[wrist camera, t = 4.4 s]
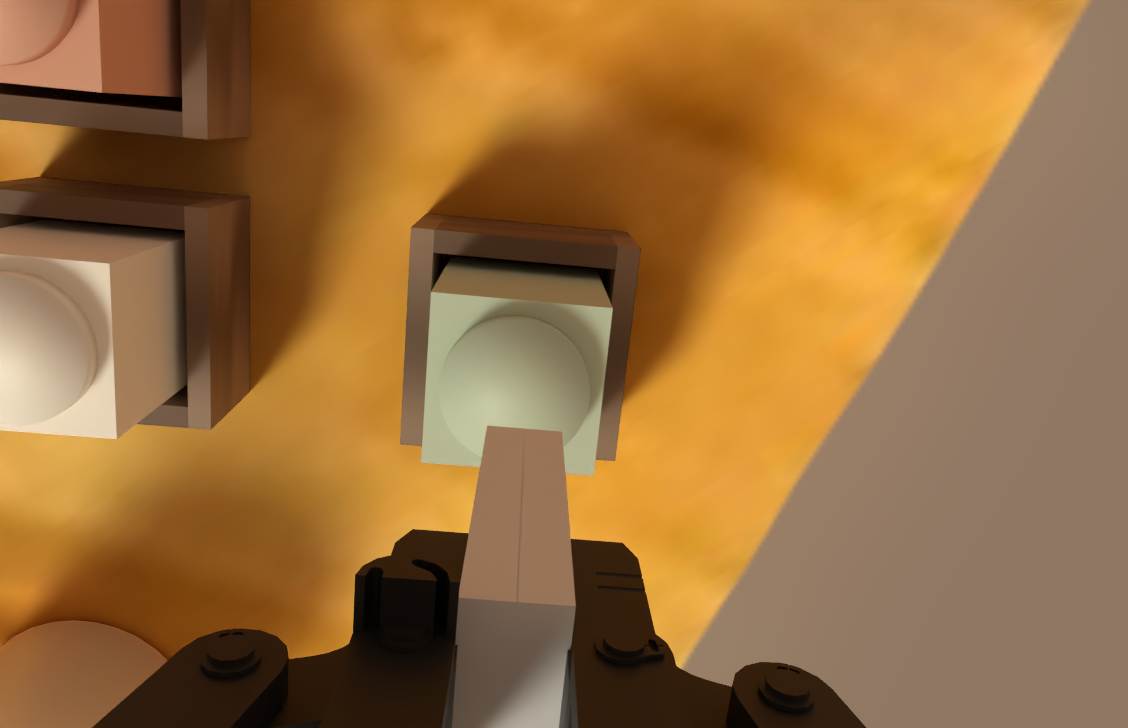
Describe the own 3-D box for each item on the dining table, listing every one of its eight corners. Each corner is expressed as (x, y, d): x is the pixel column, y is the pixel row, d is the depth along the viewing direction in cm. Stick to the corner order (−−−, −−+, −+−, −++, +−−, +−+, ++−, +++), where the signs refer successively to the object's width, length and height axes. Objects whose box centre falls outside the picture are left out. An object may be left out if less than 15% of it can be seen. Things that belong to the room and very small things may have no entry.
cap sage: (451, 256, 29) (428, 296, 22) (596, 270, 29) (615, 312, 23) (442, 395, 30) (418, 470, 24) (581, 407, 30) (595, 484, 24)
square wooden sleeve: (38, 177, 29) (-36, 185, 26) (249, 197, 30) (208, 208, 26) (50, 375, 31) (-17, 411, 27) (249, 391, 32) (210, 429, 28)
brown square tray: (426, 213, 30) (411, 227, 26) (627, 232, 31) (640, 248, 27) (416, 405, 32) (400, 444, 28) (605, 420, 32) (614, 461, 29)
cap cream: (42, 219, 28) (-102, 249, 21) (195, 233, 28) (98, 267, 22) (51, 364, 29) (-83, 432, 23) (198, 375, 29) (106, 446, 23)
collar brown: (19, -119, 27) (-65, -159, 23) (250, -93, 27) (204, -128, 24) (34, 115, 29) (-42, 115, 25) (249, 136, 29) (207, 139, 25)
